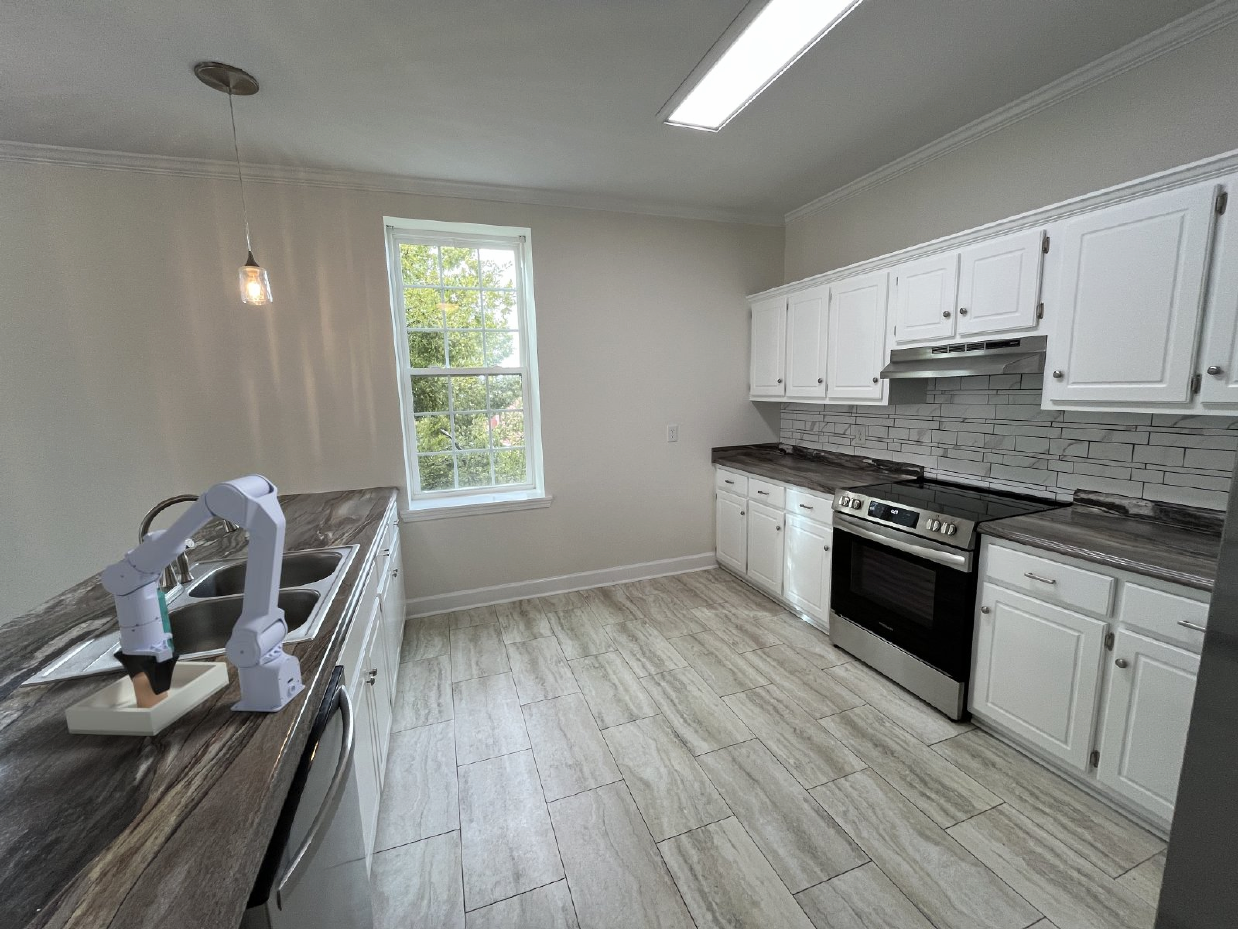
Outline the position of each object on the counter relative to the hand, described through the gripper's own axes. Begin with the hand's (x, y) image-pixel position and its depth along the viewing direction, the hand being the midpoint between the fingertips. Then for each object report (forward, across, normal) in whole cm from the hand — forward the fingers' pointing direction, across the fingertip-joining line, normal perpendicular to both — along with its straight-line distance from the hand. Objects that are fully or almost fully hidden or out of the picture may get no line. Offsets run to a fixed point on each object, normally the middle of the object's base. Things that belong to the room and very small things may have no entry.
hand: (152, 687), depth 96 cm
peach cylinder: (+3, 0, 0) cm, 3 cm away
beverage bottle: (+4, +19, -8) cm, 22 cm away
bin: (+4, 0, 0) cm, 4 cm away
